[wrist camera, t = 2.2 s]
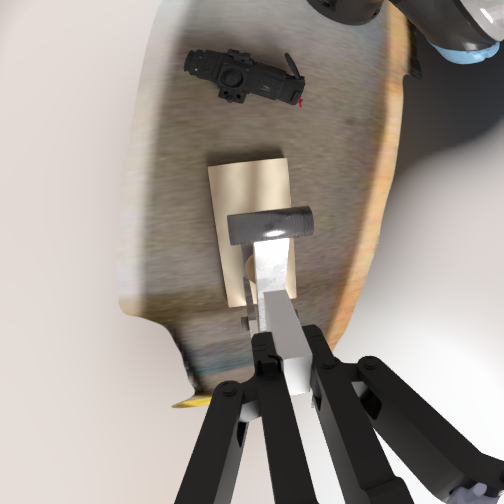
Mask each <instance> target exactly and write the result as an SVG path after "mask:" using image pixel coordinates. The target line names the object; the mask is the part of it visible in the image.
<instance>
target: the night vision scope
mask: <svg viewBox="0 0 504 504" xmlns="http://www.w3.org/2000/svg"><path fill="white" fill-rule="evenodd" d="M250 55H251V54H249V53H246V52H245V53H239V51H237V50H232V49H229V50H228V52H227V53H220V52H215V51H211V50H206V51H204V50H197V51H196V52H195V51H192V50H191V51H190V52H189V53H188V55H187V58H186V60H185V64H184V71H189V73H190V75H195V76H197V78H201V79H206V80H210V81H212V82H214V83H217V85H219V86H221V88H220V91H219V95H218V97H220V98H223V99H226V100H227V101H228V102H229V103H231V102H237V103H243V102H244V100H245V97H246V94H249V92H250V93H254V94H257V95H260V96H263V97H266V98H269V99H272V100H276V99H278V100H281V101H283V102H286V103H289V104H291V105H296V104H297V102H299V105H300V107H301V103H302V101H303V99H300V97H301V95H302V92H303V89H304V86H305V82H304V81H305V80H304V78H305V77H303V76H300V75H299V72H298V69H297V67H296V65H295V63H294V61H293V60H292V58H291V57H290V55H289V54H288V53H285V58H286V61H287V63H288V65H289V67H290V69H291V71H292V72H293V74H294V76H291V75H289V74H287V73H286V72H285V71H283V70H280V69H277V68H274V67H271V66H268V65H265V64H262V63H259V62H254V60H253V59H252V58H250Z"/></svg>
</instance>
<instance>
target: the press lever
mask: <svg viewBox="0 0 504 504" xmlns="http://www.w3.org/2000/svg"><path fill="white" fill-rule="evenodd" d="M227 223H228V231H229V239H230V245H231V246H233V245H240V244H248V243H253V255H254V268H255V282H256V295H257V309H258V320H259V327H260V331H265V330H267V328H266V320H265V308H264V296H263V292H269V291H277V290H284V289H285V284H286V272H287V260H288V247H289V238H295V237H303V236H311V235H312V234H313V231H314V221H313V215H312V211H311V209H310V207H309V206H301V207H291V208H282V209H273V210H265V211H257V212H249V213H241V214H233V215H227Z"/></svg>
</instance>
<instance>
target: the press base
mask: <svg viewBox="0 0 504 504" xmlns="http://www.w3.org/2000/svg"><path fill="white" fill-rule="evenodd" d="M208 174H209V181H210V188H211V196H212V203H213V210H214V217H215V223H216V230H217V237H218V243H219V250H220V256H221V262H222V268H223V274H224V280H225V286H226V292H227V298H228V304H229V307H236V306H244V305H247V313H248V316H247V317H241V323H242V330H243V331H249V330H250V334H251V339H252V337H253V335H254V334H256V333H258V328H257V320H256V314H255V309H254V304H257V295H256V282H255V268H254V255H253V243H248V244H240V245H233V246H231V245H230V239H229V231H228V223H227V215H233V214H241V213H249V212H257V211H265V210H273V209H282V208H291V199H290V187H289V176H288V165H287V158H278V159H267V160H257V161H248V162H239V163H231V164H223V165H216V166H209V167H208ZM285 289H286V291H287V293H288V296H289V298H290V299H292V298H296V278H295V259H294V242H293V238H289V247H288V260H287V272H286V284H285ZM294 310H295V313H296V315H297V318H298V312H297V310H296V309H294ZM298 320H299V318H298Z"/></svg>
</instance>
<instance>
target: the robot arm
mask: <svg viewBox="0 0 504 504" xmlns="http://www.w3.org/2000/svg"><path fill="white" fill-rule="evenodd" d="M307 1H308V2H309V4H310V5H311V6H312V7H313V8H314V9H316V10H317V11H318V12H319V13H321V14H322V15H324V16H326V17H327V18H329V19H331V20H334V21H336V22H339V23H342V24H346V25H363V24H366V23H368V22H370V21H371V20H373V19H374V18H375V17H376V16H377V15H378V14H379V12H380V9H381V6H382V4H383V1H384V0H307ZM389 1H390V2H391V3H392V4H393V5H395V6H396V7H397V8H398V9H399V10H400V11H401V12H402V13H403V14H404V15H405V16H406V17H407V18H408V19H409V20H410V21H411V22H412V23H413V24H414V25H415V26H416V27H417V28H418V29H419V30H420V31H421V32H422V33H423V34H424V35H425V36H426V38H427V40H428V41H429V43H430V44H432V45H433V46H434V47H435V48H436V49H437V50H438V51H439V52H440V53H441V55H443V57H445V58H446V59H448V60H449V61H451V62H454V63H460V64H469V63H475V62H480V61H483V60H484V58H485V57H491V56H493V55H494V54H495V53H496V52H497V51H498V49H499V41H502V40H503V39H504V0H389ZM263 296H264V308H265V320H266V328H267V332H264V333H256V334H254V335H253V337H252V339H251V343H252V351H253V359H254V367H255V373H254V375H253V377H252V378H251V379H249V380H248V381H246V382H243V383H241V384H240V383H238V382H236V381H232V380H231V381H224V382H221V383H220V384H219V385H217V387H216V388H215V390H214V393H213V396H212V399H211V402H210V405H209V408H208V410H207V413H206V416H205V419H204V422H203V425H202V428H201V430H200V433H199V436H198V439H197V441H196V444H195V447H194V450H193V453H192V455H191V458H190V461H189V464H188V467H187V469H186V472H185V475H184V478H183V480H182V483H181V486H180V489H179V491H178V494H177V497H176V500H175V503H174V504H230V503H231V499H232V495H233V491H234V487H235V483H236V478H237V474H238V470H239V465H240V461H241V457H242V452H243V448H244V443H245V439H246V434H247V429H248V425H249V421H251V420H253V419H256V418H258V417H262V423H263V430H264V436H265V444H266V450H267V457H268V463H269V470H270V476H271V482H272V488H273V495H274V501H275V504H319V503H318V501H317V499H316V495H315V491H314V488H313V484H312V480H311V476H310V472H309V468H308V464H307V461H306V456H305V453H304V449H303V445H302V441H301V437H300V433H299V429H298V425H297V422H296V417H295V414H294V410H293V406H292V402H291V398H290V395H296V394H301V393H307V392H310V388H312V391H313V396H312V408H314V405H315V408H316V412H317V415H318V418H319V421H320V424H321V427H322V430H323V433H324V436H325V440H326V443H327V446H328V449H329V452H330V455H331V458H332V461H333V465H334V468H335V471H336V474H337V478H338V480H339V484H340V487H341V490H342V493H343V496H344V500H345V504H414V502H413V499H412V498H411V495H410V492H409V490H408V488H407V486H406V484H405V482H404V480H403V479H402V478H401V477H397V476H395V475H394V473H393V471H392V469H391V467H390V465H389V462H388V460H387V457H386V455H385V453H384V451H383V449H382V447H381V444H380V442H379V440H378V438H377V436H376V433H375V431H374V429H375V430H376V431H377V433H378V434H379V435H380V436H381V437H382V438H383V440H384V441H385V442H386V443H387V444H388V445H389V447H390V448H391V449H392V450H393V451H394V452H395V453H396V454H397V456H398V457H399V458H400V459H401V460H402V461H403V462H404V464H405V465H406V466H407V467H408V468H409V469H410V470H411V472H412V473H413V474H414V475H415V476H416V477H417V478H418V479H419V480H420V482H421V483H422V484H423V485H424V486H425V487H426V488H427V489H428V490H429V491H430V492H431V493H432V494H433V495H434V496H435V497H436V498H438V499H440V500H441V501H442V502H444V503H446V504H497V502H498V499H499V498H500V496H501V495H502V494H504V461H502V460H499V459H496V458H493V457H491V456H488V455H486V454H483V453H481V452H480V451H479V450H478V449H477V448H476V447H475V446H474V445H473V444H472V443H470V442H469V441H468V440H467V439H466V438H465V437H464V436H463V435H462V434H460V432H458V430H456V429H455V428H454V427H453V426H452V425H451V424H450V423H449V422H448V421H447V420H446V419H445V418H443V417H442V416H441V415H440V414H439V413H438V412H437V411H436V410H435V409H434V408H433V407H431V405H429V404H428V403H427V402H426V401H425V400H424V399H423V398H422V397H421V396H420V395H419V394H417V393H416V392H415V391H414V390H413V389H412V388H411V387H410V386H409V385H408V384H406V383H405V382H404V381H403V380H402V379H401V378H400V377H399V376H398V375H397V374H395V373H394V372H393V371H392V370H391V369H390V368H389V367H388V366H387V365H386V364H385V363H384V362H382V361H381V360H380V359H379V358H377V357H374V356H365V357H362V358H361V359H359V361H358V363H343V362H341V361H340V360H339V359H338V358H336V357H334V356H333V354H332V352H331V350H330V348H329V346H328V344H327V342H326V340H325V338H324V336H323V334H322V331H321V329H320V328H318V327H317V326H316V325H314V324H313V325H307V326H301V325H300V322H299V320H298V318H297V315H296V313H295V310H294V308H293V305H292V303H291V300H290V298H289V296H288V293H287V291H286V289H284V290H277V291H269V292H263ZM373 428H374V429H373Z"/></svg>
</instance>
